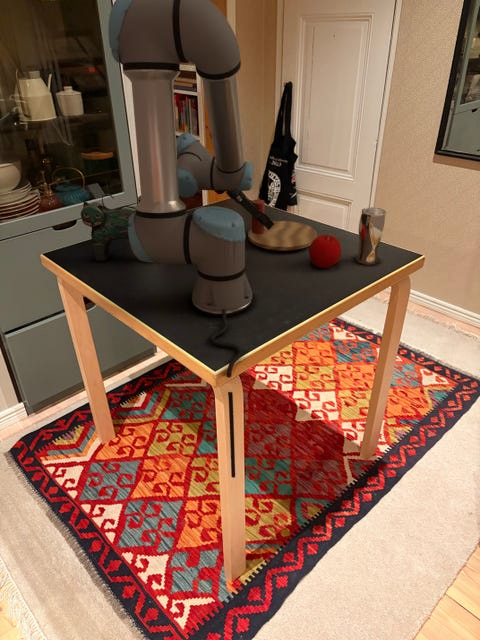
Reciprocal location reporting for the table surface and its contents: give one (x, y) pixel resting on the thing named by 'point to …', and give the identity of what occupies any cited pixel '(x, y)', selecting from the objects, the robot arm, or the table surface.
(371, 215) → the beer glass
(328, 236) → the fruit
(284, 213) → the table surface
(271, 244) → the wooden round stand
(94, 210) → the ceramic cat
